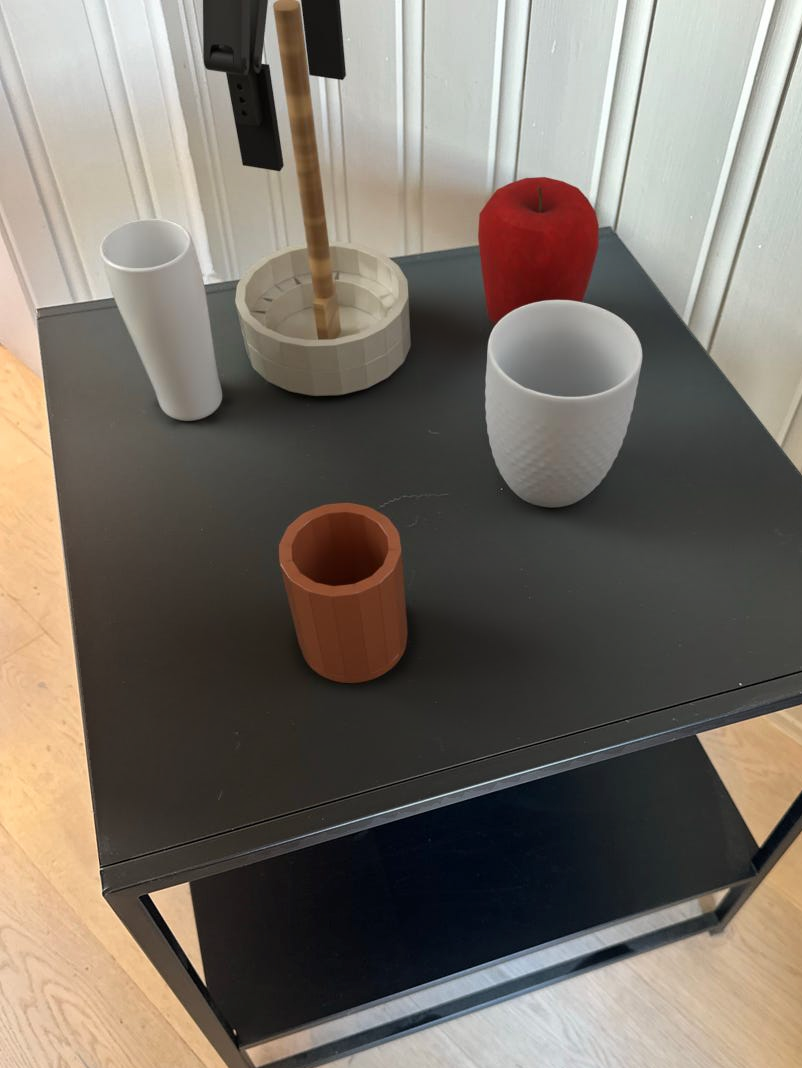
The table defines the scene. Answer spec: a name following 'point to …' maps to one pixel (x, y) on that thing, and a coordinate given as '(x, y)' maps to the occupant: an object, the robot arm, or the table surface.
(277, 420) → the table surface
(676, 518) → the table surface
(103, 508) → the table surface
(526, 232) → the apple
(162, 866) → the table surface
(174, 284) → the white cylinder cup
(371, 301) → the bowl
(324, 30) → the robot arm
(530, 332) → the mug
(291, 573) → the crock
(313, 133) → the wooden rod
